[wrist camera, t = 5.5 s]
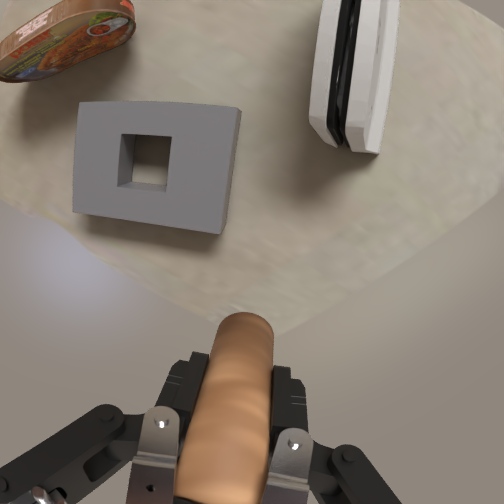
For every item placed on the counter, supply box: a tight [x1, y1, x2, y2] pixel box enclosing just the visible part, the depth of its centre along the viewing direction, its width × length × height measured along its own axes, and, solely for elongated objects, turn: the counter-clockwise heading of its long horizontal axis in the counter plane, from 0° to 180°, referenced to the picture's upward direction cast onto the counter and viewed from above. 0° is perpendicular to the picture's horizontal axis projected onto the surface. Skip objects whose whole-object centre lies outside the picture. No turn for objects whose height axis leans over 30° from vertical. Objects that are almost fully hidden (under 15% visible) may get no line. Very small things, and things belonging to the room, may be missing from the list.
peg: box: [174, 312, 274, 504], centre depth 12 cm, size 3×3×10 cm
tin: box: [0, 0, 136, 83], centre depth 19 cm, size 15×3×8 cm, turn 98°
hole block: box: [73, 101, 242, 234], centre depth 25 cm, size 14×10×3 cm
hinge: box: [309, 0, 400, 154], centre depth 19 cm, size 17×5×10 cm, turn 170°
